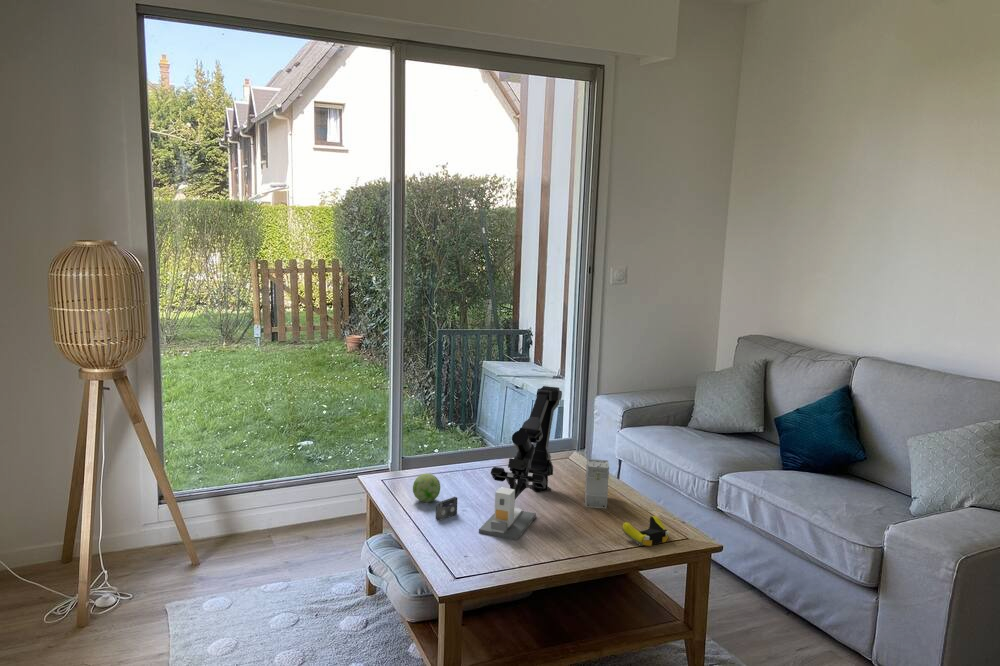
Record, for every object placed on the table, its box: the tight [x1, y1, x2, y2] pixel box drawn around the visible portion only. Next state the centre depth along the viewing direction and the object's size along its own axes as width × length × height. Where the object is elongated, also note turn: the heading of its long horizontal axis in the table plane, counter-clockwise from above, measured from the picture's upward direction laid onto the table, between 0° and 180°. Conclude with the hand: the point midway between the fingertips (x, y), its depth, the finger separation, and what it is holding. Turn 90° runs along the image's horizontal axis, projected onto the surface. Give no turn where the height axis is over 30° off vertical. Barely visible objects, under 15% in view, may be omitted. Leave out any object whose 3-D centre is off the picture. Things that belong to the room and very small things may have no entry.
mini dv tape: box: [435, 496, 458, 521], centre depth 243 cm, size 8×2×6 cm, turn 135°
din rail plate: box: [478, 507, 537, 541], centre depth 238 cm, size 20×13×4 cm, turn 160°
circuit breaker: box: [584, 458, 610, 509], centre depth 261 cm, size 8×14×15 cm, turn 174°
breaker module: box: [494, 486, 516, 529], centre depth 233 cm, size 6×5×12 cm
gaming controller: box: [621, 515, 670, 547], centre depth 231 cm, size 15×6×10 cm
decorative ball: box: [412, 473, 441, 503], centre depth 255 cm, size 10×10×10 cm
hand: (512, 500), depth 240 cm, fingers closed
